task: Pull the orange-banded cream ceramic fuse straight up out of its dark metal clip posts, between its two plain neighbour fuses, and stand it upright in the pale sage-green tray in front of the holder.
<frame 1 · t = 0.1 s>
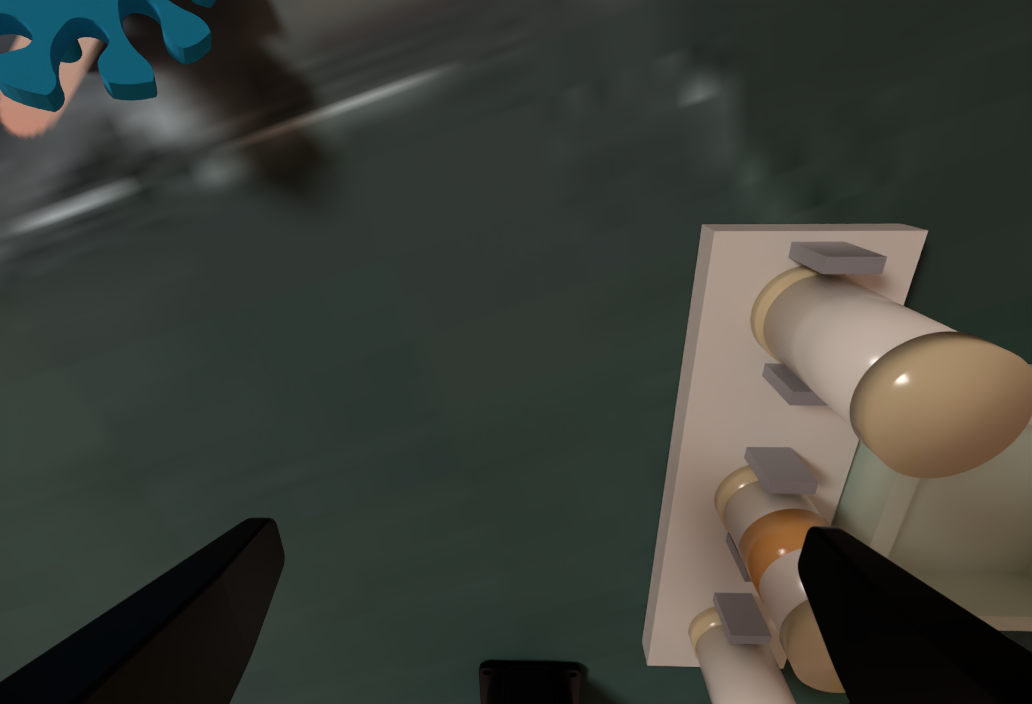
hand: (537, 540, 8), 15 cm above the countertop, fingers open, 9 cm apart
fuse marked: (756, 496, 24), point 1 cm above the countertop, touching fuse holder
tray: (953, 479, 25), on the countertop
fuse holder: (744, 476, 25), on the countertop
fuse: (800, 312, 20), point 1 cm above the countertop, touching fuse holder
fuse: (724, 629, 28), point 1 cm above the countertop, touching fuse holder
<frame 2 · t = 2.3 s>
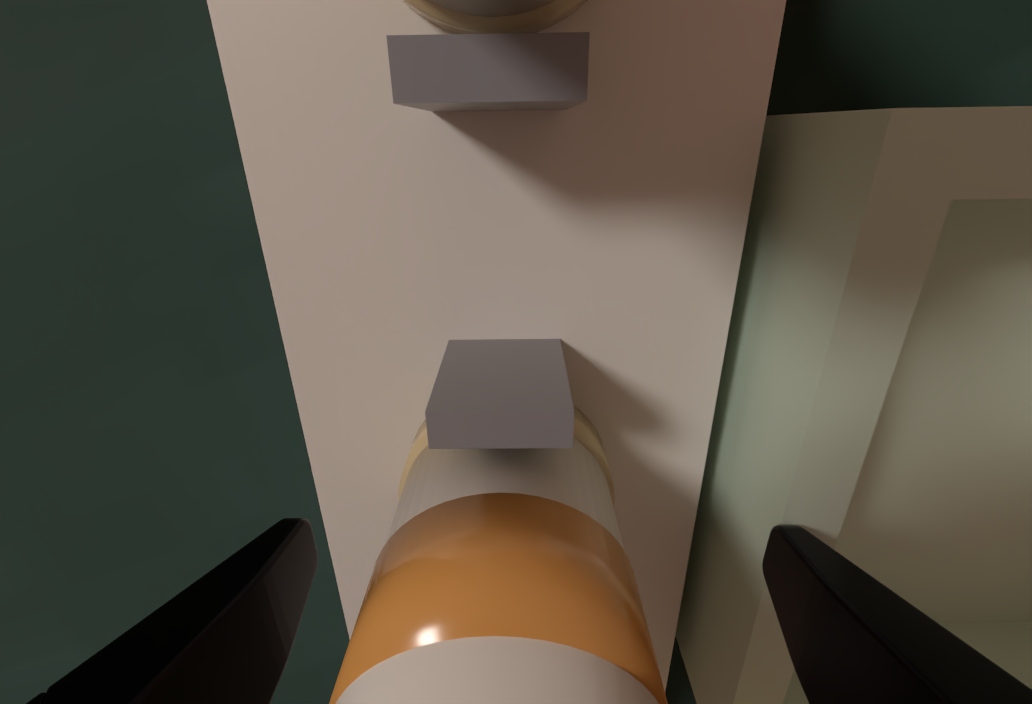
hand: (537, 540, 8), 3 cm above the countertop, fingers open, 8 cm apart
fuse marked: (507, 470, 10), point 1 cm above the countertop, touching fuse holder
tray: (965, 425, 11), on the countertop
fuse holder: (508, 429, 11), on the countertop
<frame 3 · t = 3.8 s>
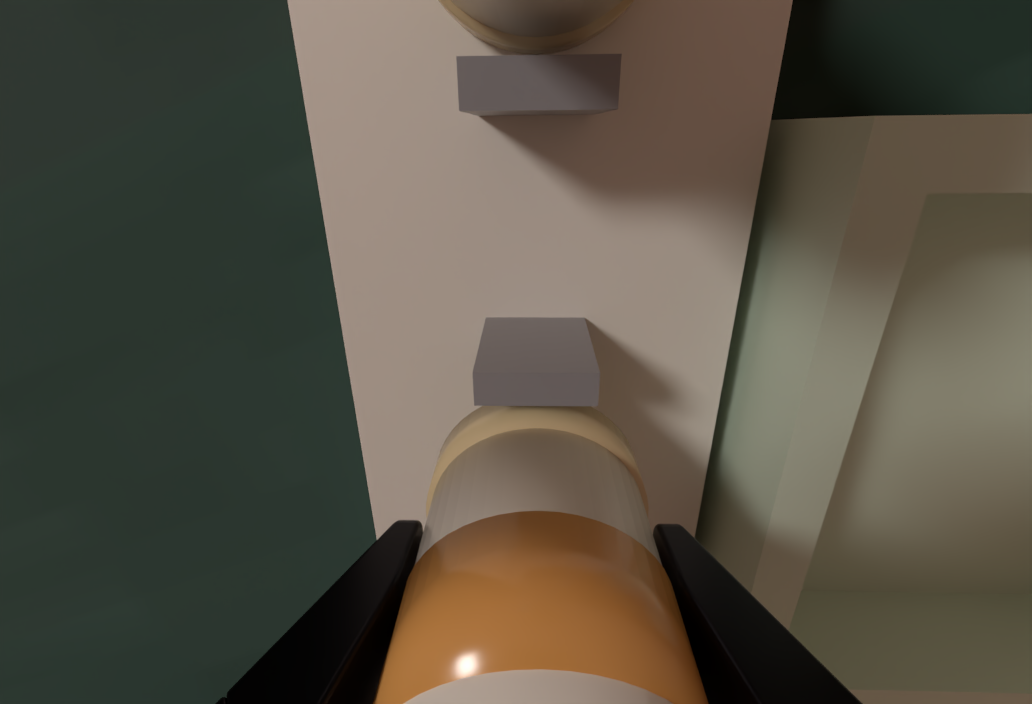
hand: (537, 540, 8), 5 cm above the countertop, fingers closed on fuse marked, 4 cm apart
fuse marked: (535, 481, 10), point 3 cm above the countertop, touching gripper
tray: (957, 406, 12), on the countertop
fuse holder: (533, 404, 13), on the countertop
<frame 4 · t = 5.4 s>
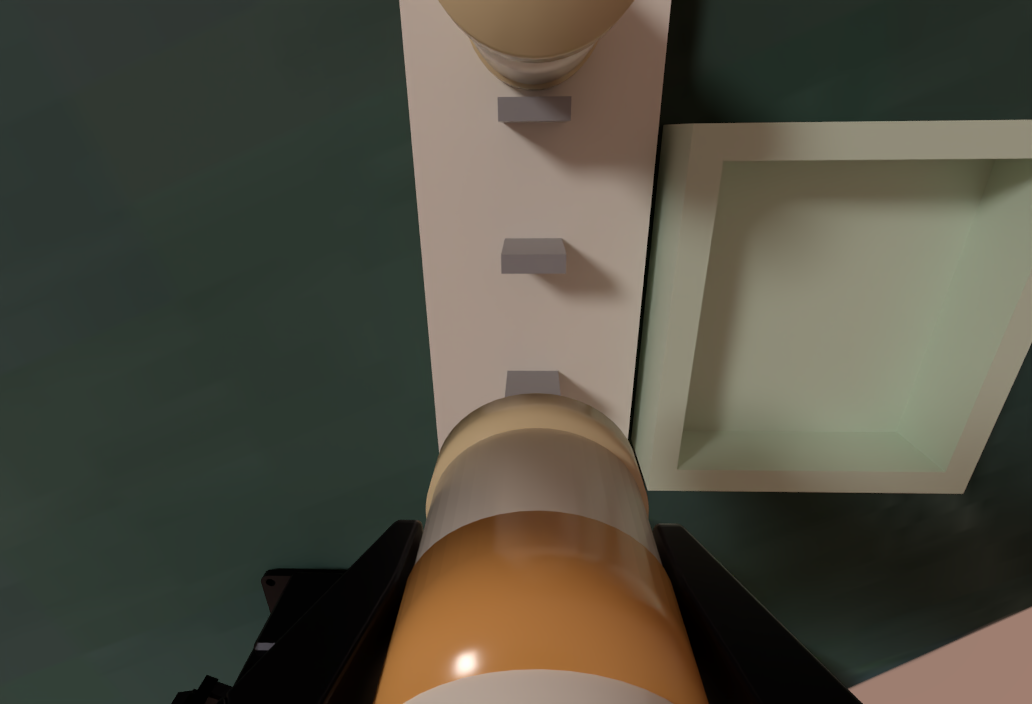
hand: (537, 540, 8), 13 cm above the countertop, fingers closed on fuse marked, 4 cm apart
fuse marked: (535, 481, 10), point 11 cm above the countertop, touching gripper
tray: (797, 303, 20), on the countertop
fuse holder: (532, 303, 20), on the countertop
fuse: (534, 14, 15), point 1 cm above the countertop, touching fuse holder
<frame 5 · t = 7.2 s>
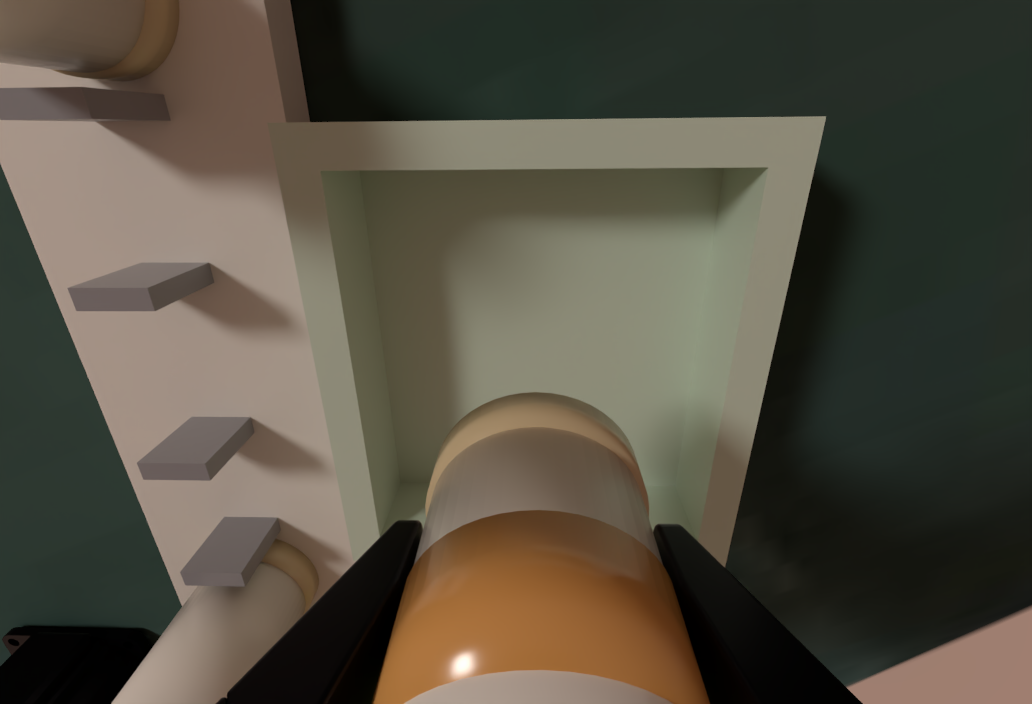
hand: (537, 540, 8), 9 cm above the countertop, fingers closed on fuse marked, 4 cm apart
fuse marked: (535, 481, 10), point 7 cm above the countertop, touching gripper
tray: (537, 336, 16), on the countertop
fuse holder: (229, 335, 17), on the countertop
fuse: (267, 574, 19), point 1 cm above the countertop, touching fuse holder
when the fingers open (4 cm above the countertop, at t = 8.4 s): fuse marked drops 2 cm, resting on tray.
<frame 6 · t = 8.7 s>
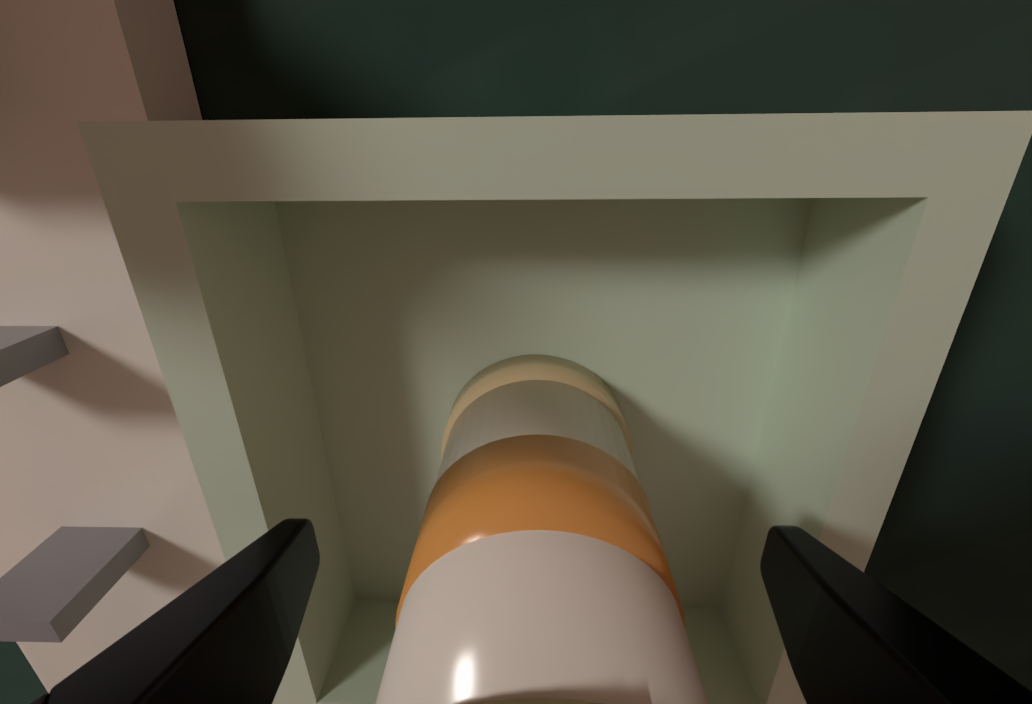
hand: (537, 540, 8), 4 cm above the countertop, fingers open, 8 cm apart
fuse marked: (535, 434, 11), point 1 cm above the countertop, touching tray
tray: (537, 415, 12), on the countertop
fuse holder: (116, 412, 12), on the countertop
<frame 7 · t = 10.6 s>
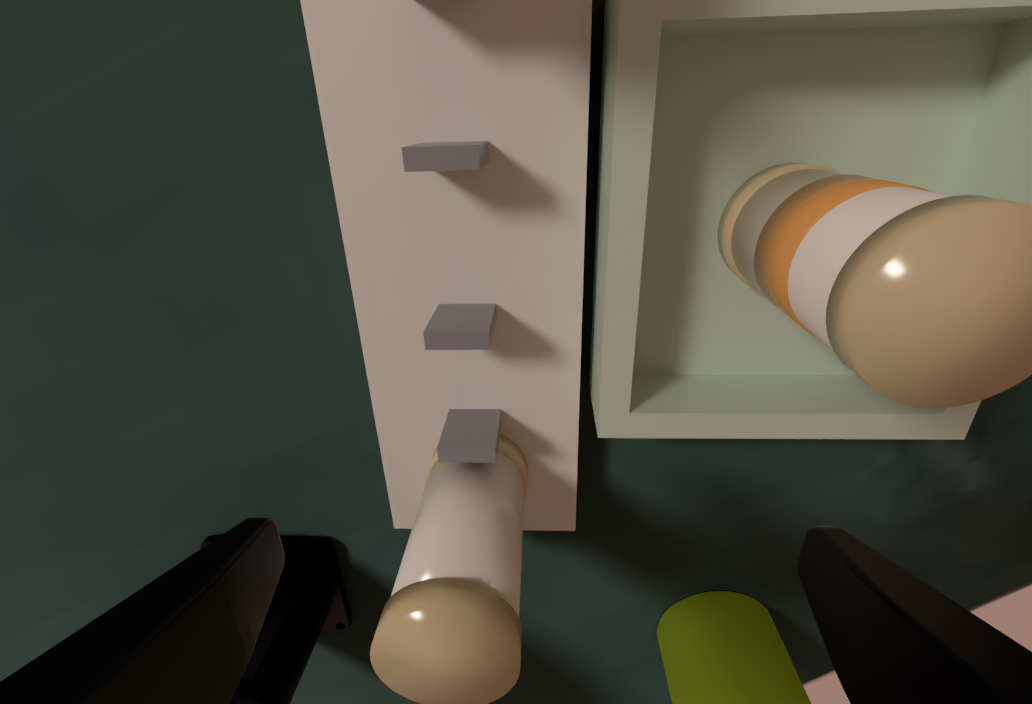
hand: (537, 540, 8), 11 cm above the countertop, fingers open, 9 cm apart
soap dispenser: (702, 624, 26), on the countertop
fuse marked: (780, 227, 16), point 1 cm above the countertop, touching tray
tray: (771, 222, 17), on the countertop
fuse holder: (468, 228, 18), on the countertop
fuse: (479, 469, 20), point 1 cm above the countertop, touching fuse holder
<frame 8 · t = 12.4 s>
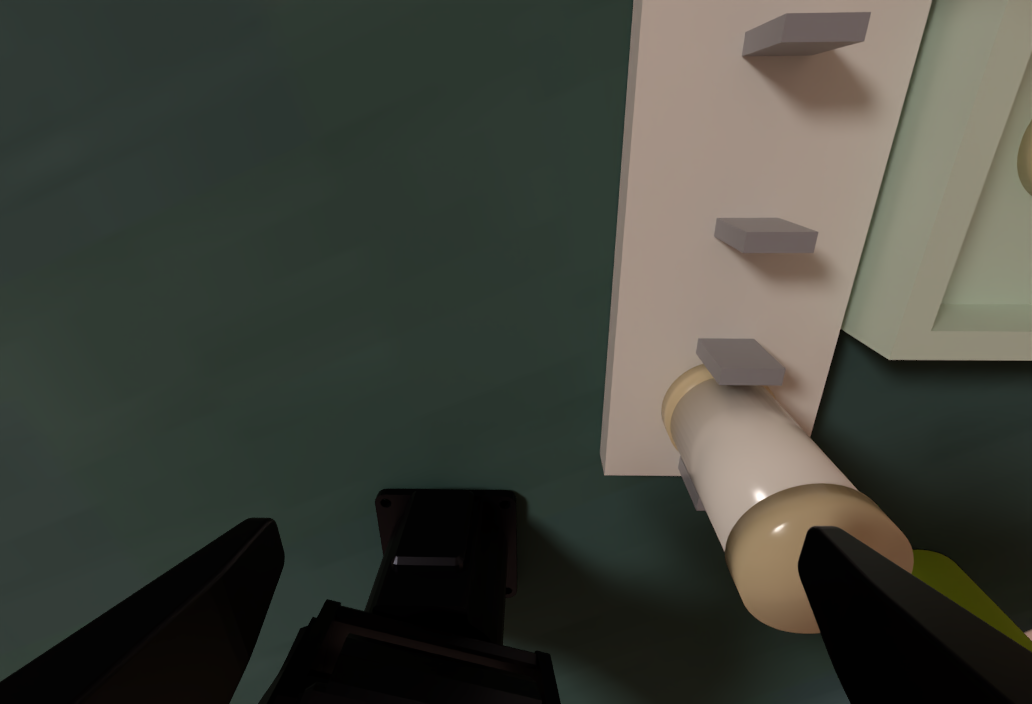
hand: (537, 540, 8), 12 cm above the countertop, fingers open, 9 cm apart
soap dispenser: (885, 587, 25), on the countertop
fuse holder: (742, 140, 17), on the countertop
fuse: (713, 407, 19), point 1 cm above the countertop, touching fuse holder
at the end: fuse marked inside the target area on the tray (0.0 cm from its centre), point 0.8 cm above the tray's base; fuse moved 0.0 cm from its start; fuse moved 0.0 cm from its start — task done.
